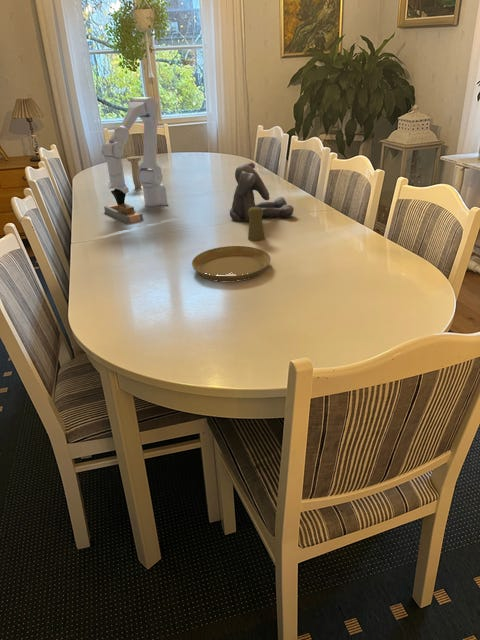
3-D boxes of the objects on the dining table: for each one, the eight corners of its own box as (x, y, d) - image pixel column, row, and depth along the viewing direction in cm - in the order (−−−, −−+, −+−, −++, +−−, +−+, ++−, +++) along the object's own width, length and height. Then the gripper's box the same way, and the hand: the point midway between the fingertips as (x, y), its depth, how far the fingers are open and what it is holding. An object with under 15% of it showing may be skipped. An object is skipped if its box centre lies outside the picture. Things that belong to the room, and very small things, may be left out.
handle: (144, 188, 257) (140, 157, 250) (131, 189, 256) (126, 158, 249) (144, 186, 261) (140, 155, 254) (132, 187, 260) (127, 156, 253)
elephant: (295, 221, 199) (295, 166, 189) (230, 225, 198) (227, 170, 188) (288, 206, 217) (288, 155, 207) (229, 210, 216) (226, 159, 207)
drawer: (126, 215, 213) (125, 203, 211) (135, 219, 208) (133, 206, 205) (120, 216, 212) (118, 204, 210) (128, 220, 206) (126, 208, 204)
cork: (267, 235, 185) (266, 205, 180) (262, 241, 180) (261, 210, 175) (250, 234, 187) (249, 204, 182) (245, 240, 182) (244, 209, 177)
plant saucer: (244, 291, 145) (244, 280, 143) (176, 277, 157) (175, 266, 155) (284, 262, 163) (284, 252, 161) (221, 251, 174) (220, 241, 173)
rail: (121, 210, 223) (120, 202, 222) (144, 221, 207) (143, 213, 206) (104, 214, 219) (102, 206, 218) (126, 226, 203) (125, 217, 202)
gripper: (99, 172, 208) (105, 205, 215) (114, 178, 198) (120, 213, 204) (115, 169, 212) (120, 202, 218) (131, 175, 201) (136, 209, 208)
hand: (121, 207), depth 212 cm, fingers closed
